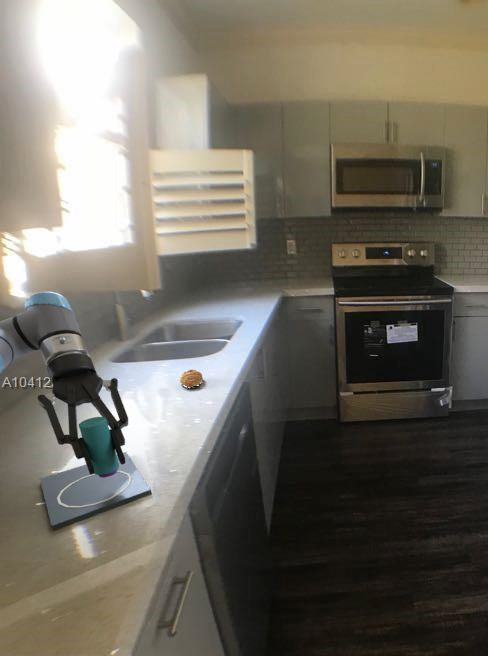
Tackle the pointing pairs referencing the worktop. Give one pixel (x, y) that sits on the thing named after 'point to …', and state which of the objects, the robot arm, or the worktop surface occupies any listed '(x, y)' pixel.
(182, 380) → the pastry
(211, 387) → the worktop surface
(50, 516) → the slate board
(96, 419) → the dot marker
